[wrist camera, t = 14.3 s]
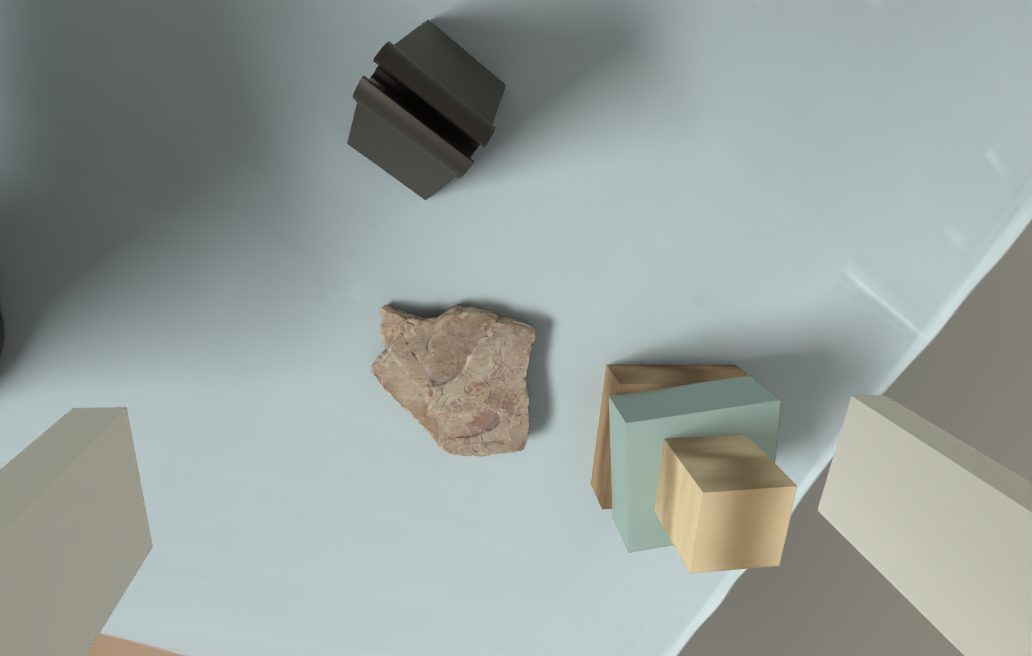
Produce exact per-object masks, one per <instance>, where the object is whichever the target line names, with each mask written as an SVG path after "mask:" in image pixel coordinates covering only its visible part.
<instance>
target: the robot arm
mask: <svg viewBox="0 0 1032 656" xmlns="http://www.w3.org/2000/svg"><path fill="white" fill-rule="evenodd" d="M1 347H2V323H1V317H0V352H1ZM818 511H819V512H820V513H821V514H822V515H823V516H824V517H825V518H826V519H827V520H828V521H829V522H830V523H831V524H832V525H833V526H834V527H835V528H836V529H837V530H838V531H839V532H840V533H841V534H842V535H843V536H844V537H845V538H846V539H847V540H848V541H849V542H850V543H851V544H852V545H853V546H854V547H855V548H856V549H858V551H859V552H860V553H861V554H862V555H863V556H864V557H865V558H866V559H867V560H868V561H869V562H870V563H871V564H872V565H873V566H874V567H876V569H878V571H879V572H881V574H883V576H885V577H886V578H887V579H888V580H889V581H890V582H891V583H892V584H893V585H894V586H895V587H896V588H897V589H898V590H899V591H900V592H901V593H902V594H903V595H904V596H905V597H906V598H907V599H908V600H909V601H910V602H911V603H912V604H913V605H914V606H915V607H916V608H917V609H918V610H919V611H920V612H921V613H922V614H923V615H924V616H925V617H926V618H927V619H928V620H929V621H930V622H931V623H932V624H933V625H934V626H935V627H936V628H937V629H938V630H939V631H940V632H941V633H942V634H943V635H944V636H945V637H946V638H947V639H948V640H949V641H950V642H951V643H952V644H953V645H954V646H955V647H956V648H957V649H958V650H959V651H960V652H961V653H962V654H963V655H964V656H1032V483H1030V482H1029V481H1027V480H1025V479H1024V478H1022V477H1020V476H1018V475H1017V474H1015V473H1014V472H1012V471H1010V470H1009V469H1007V468H1005V467H1004V466H1002V465H1000V464H999V463H997V462H995V461H993V460H992V459H990V458H988V457H987V456H985V455H984V454H982V453H980V452H979V451H977V450H975V449H973V448H972V447H970V446H968V445H967V444H965V443H964V442H962V441H960V440H959V439H957V438H955V437H954V436H952V435H950V434H948V433H947V432H945V431H943V430H942V429H940V428H938V427H937V426H935V425H934V424H932V423H930V422H928V421H927V420H925V419H924V418H922V417H920V416H919V415H917V414H915V413H914V412H912V411H910V410H909V409H907V408H905V407H903V406H902V405H900V404H898V403H897V402H895V401H894V400H892V399H890V398H889V397H887V396H885V395H879V396H851V400H850V403H849V406H848V410H847V413H846V416H845V420H844V423H843V427H842V430H841V433H840V437H839V440H838V443H837V447H836V450H835V453H834V457H833V460H832V464H831V467H830V470H829V474H828V477H827V480H826V484H825V487H824V491H823V494H822V497H821V501H820V504H819V507H818ZM152 547H153V546H152V540H151V535H150V530H149V524H148V519H147V514H146V508H145V503H144V498H143V492H142V487H141V482H140V476H139V471H138V466H137V460H136V455H135V450H134V444H133V439H132V434H131V428H130V423H129V418H128V412H127V407H114V408H72V409H71V410H70V411H69V412H68V413H67V414H65V415H64V416H63V417H62V418H61V419H60V420H58V421H57V422H56V423H55V424H54V425H52V426H51V427H50V428H49V429H48V430H47V431H45V432H44V433H43V434H42V435H41V436H40V437H38V438H37V439H36V440H35V441H34V442H32V443H31V444H30V445H29V446H28V447H27V448H25V449H24V450H23V451H22V452H21V453H19V454H18V455H17V456H16V457H15V458H14V459H12V460H11V461H10V462H9V463H8V464H7V465H5V466H4V467H3V468H2V469H1V470H0V656H86V654H87V653H88V651H89V649H90V648H91V646H92V645H93V643H94V641H95V640H96V638H97V636H98V634H99V633H100V632H101V630H102V628H103V627H104V625H105V623H106V622H107V620H108V618H109V617H110V615H111V614H112V612H113V610H114V609H115V607H116V605H117V604H118V602H119V601H120V599H121V597H122V596H123V594H124V592H125V591H126V589H127V588H128V586H129V584H130V583H131V581H132V579H133V578H134V576H135V575H136V573H137V571H138V570H139V568H140V566H141V565H142V563H143V562H144V560H145V558H146V557H147V555H148V553H149V552H150V550H151V549H152Z"/></svg>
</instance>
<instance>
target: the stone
mask: <svg viewBox="0 0 1032 656" xmlns="http://www.w3.org/2000/svg"><path fill="white" fill-rule="evenodd" d="M380 314H381V316H382V319H383V321H382V323H381V325H380V327H379V329H380V332H381V334H382V337H383V341H384V343H385V348H386V349H385V350H384V351H383V352H382V353H381V355H380V356H378V358H377V359H376V360H375V362H374V363H373V365H372V366H371V372H372V374H374V375H375V376H376V377H377V380H378V381H379V382H380V383H381V385H382V386H383V387H384V389H385V390H386V391H387V392H388V393H389V394H390V396H391V397H392V398H394V399H395V400H396V401H398V402H399V403H400V404H401V406H402V407H403V408H404V409H405V410H406V411H408V412H409V413H410V414H411V415H412V416H413V418H415V419H416V420H417V421H418V422H419V424H421V425H423V427H424V428H425V429H426V430H427V431H428V432H429V434H430V435H431V436H432V437H433V439H434V440H435V441H436V442H437V444H438V446H439V447H440V448H441V449H443V450H444V451H445V452H448V453H450V454H454V455H462V456H472V455H475V456H488V455H491V454H499V453H506V452H516V451H522V450H524V447H525V444H526V442H527V439H528V433H529V430H528V428H529V423H530V421H529V414H528V405H529V398H528V392H527V386H526V371H527V368H528V364H529V354H530V351H531V350H532V345H533V343H534V342H535V336H536V331H535V328H534V327H532V326H530V325H528V324H526V323H523V322H522V321H518V320H517V319H512V318H509V317H505V316H502V317H499V315H497V314H494V313H492V312H491V311H488V310H485V309H478V308H477V307H470V306H468V307H464V306H460V305H455V306H453V307H451V308H450V309H449V310H447V311H446V312H444V313H443V314H441V315H439V316H438V317H435V318H433V317H429V316H427V317H420V316H416V315H413V314H410V313H408V312H405V311H403V310H401V309H399V308H393V307H392V306H390V305H384V306H383V307H382V308H381V309H380Z"/></svg>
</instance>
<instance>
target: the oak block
mask: <svg viewBox="0 0 1032 656" xmlns="http://www.w3.org/2000/svg"><path fill="white" fill-rule="evenodd" d="M796 490H797V485H796V484H795V483H794V482H793V481H792V480H791V479H790V478H789V477H788V476H787V475H786V474H785V473H784V472H783V471H782V470H781V469H780V468H779V467H778V466H777V465H776V464H775V463H774V462H773V461H772V460H771V459H770V458H769V457H768V456H767V455H766V454H765V453H764V452H763V451H762V450H761V449H760V448H759V447H758V446H757V445H756V444H755V443H754V442H753V441H752V440H751V439H750V438H749V437H748V436H747V435H727V436H709V437H691V438H672V439H664V443H663V451H662V458H661V466H660V474H659V481H658V489H657V497H656V504H655V513H656V515H657V517H658V518H659V520H660V522H661V524H662V525H663V527H664V529H665V531H666V533H667V534H668V536H669V538H670V540H671V541H672V543H673V545H674V547H675V548H676V550H677V552H678V554H679V555H680V557H681V559H682V561H683V562H684V564H685V566H686V568H687V569H688V571H689V573H690V574H691V573H702V572H713V571H724V570H735V569H746V568H757V567H768V566H779V564H780V559H781V554H782V550H783V546H784V542H785V538H786V533H787V529H788V525H789V520H790V516H791V512H792V507H793V503H794V499H795V494H796Z"/></svg>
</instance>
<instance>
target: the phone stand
mask: <svg viewBox="0 0 1032 656" xmlns="http://www.w3.org/2000/svg"><path fill="white" fill-rule="evenodd" d="M374 62H375V63H377V64H378V67H377V68H376V70H375V72H374V74H373V75H372V76H371V78H370V79H368V78H366V77H365V76H363V77H362V78H361V80H360V82H359V84H358V86H357V88H356V90H355V92H354V95H353V99H355V100H356V101H357V106H356V110H355V114H354V118H353V122H352V126H351V130H350V135H349V139H348V143H347V144H349V145H350V146H351V147H353V148H354V149H356V150H357V151H358V152H360V153H361V154H363V155H364V156H365V157H367V158H368V159H369V160H371V161H372V162H374V163H375V164H376V165H378V166H379V167H381V168H382V169H383V170H385V171H386V172H387V173H389V174H390V175H392V176H393V177H394V178H396V179H397V180H399V181H400V182H401V183H403V184H404V185H405V186H407V187H408V188H410V189H411V190H412V191H414V192H415V193H417V194H418V195H419V196H421V197H422V198H423V199H425V200H426V199H427V198H429V197H430V196H431V195H432V194H434V193H435V192H436V191H437V190H439V189H440V188H441V187H442V186H444V185H445V184H446V183H447V182H449V181H450V180H451V179H452V178H454V177H455V176H457V177H458V178H461V177H462V176H463V175H464V174H465V173H466V171H467V170H468V169H469V168H470V167H471V165H472V164H473V162H474V160H472V159H471V158H470V157H471V156H472V155H473V153H474V151H475V150H476V149H477V148H478V146H479V145H481V146H482V147H483V148H484V147H485V146H486V144H487V143H488V141H489V139H490V138H491V136H492V134H493V132H494V130H495V127H494V126H493V125H492V123H493V120H494V117H495V114H496V112H497V109H498V106H499V103H500V100H501V98H502V95H503V92H504V89H505V86H506V85H505V84H504V83H503V82H501V81H500V80H499V79H498V78H497V77H495V76H494V75H493V74H492V73H491V72H490V71H488V70H487V69H486V68H485V67H484V66H482V65H481V64H480V63H479V62H478V61H477V60H475V59H474V58H473V57H472V56H471V55H469V54H468V53H467V52H466V51H465V50H464V49H462V48H461V47H460V46H459V45H458V44H456V43H455V42H454V41H453V40H452V39H450V38H449V37H448V36H447V35H446V34H445V33H443V32H442V31H441V30H440V29H439V28H437V27H436V26H435V25H434V24H433V23H432V22H430V21H429V20H427V21H426V22H424V23H423V24H422V25H420V26H419V27H418V28H416V29H415V30H414V31H412V32H411V33H410V34H408V35H407V36H406V37H404V38H403V39H402V40H400V41H399V42H398V43H396V44H395V45H393V44H392V43H391V42H387V43H386V44H385V45H384V46H383V47H382V49H381V50H380V51H379V52H378V54H377V55H376V57H375V58H374Z"/></svg>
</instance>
